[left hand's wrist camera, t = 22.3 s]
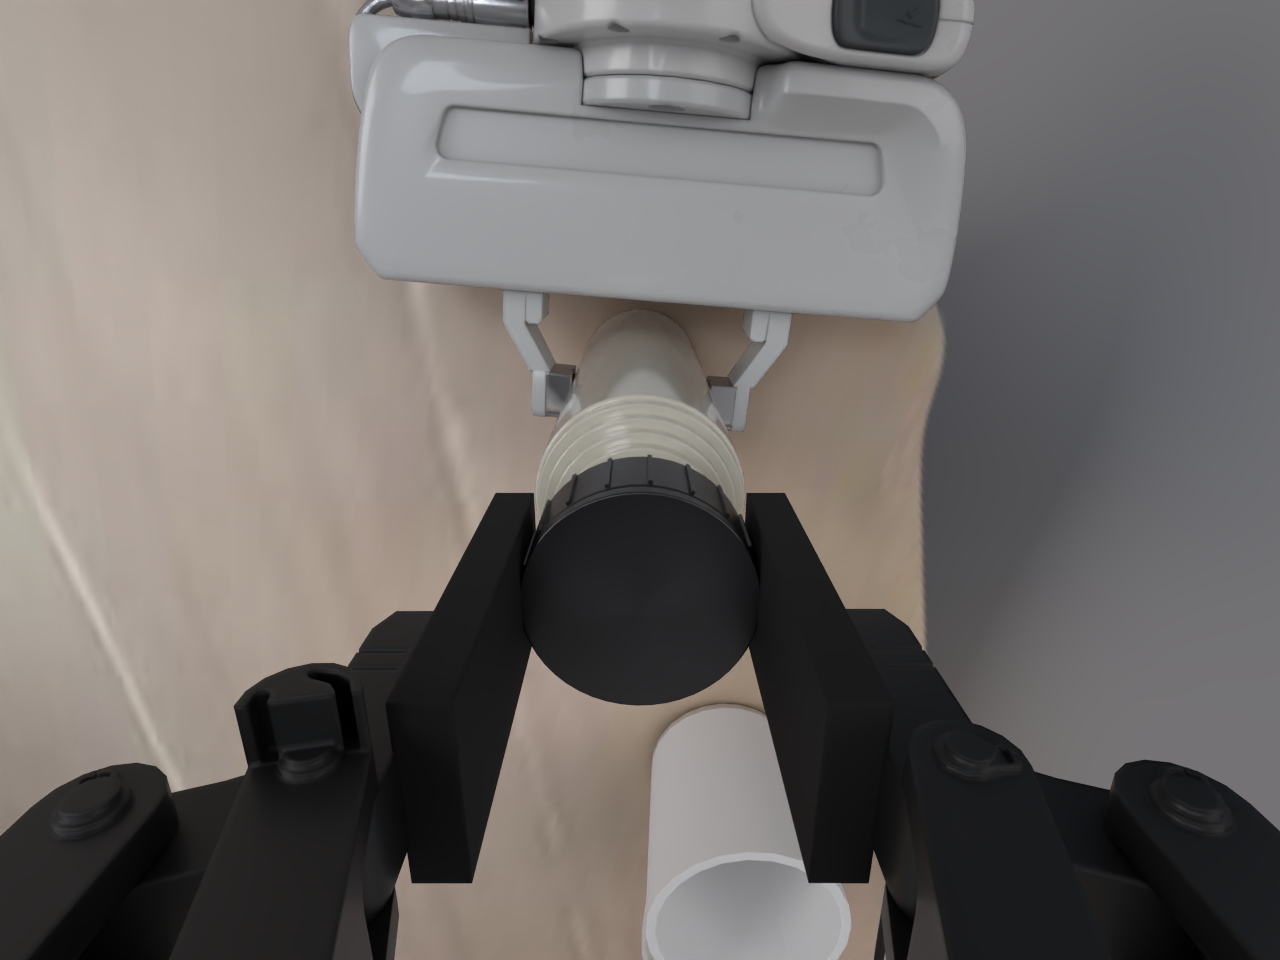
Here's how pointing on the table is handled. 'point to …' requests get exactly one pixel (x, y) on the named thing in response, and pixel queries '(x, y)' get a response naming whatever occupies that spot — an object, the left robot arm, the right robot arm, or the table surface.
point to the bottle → (640, 408)
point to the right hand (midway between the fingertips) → (639, 420)
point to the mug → (730, 850)
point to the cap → (640, 582)
